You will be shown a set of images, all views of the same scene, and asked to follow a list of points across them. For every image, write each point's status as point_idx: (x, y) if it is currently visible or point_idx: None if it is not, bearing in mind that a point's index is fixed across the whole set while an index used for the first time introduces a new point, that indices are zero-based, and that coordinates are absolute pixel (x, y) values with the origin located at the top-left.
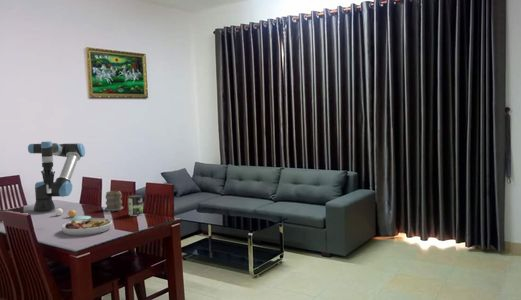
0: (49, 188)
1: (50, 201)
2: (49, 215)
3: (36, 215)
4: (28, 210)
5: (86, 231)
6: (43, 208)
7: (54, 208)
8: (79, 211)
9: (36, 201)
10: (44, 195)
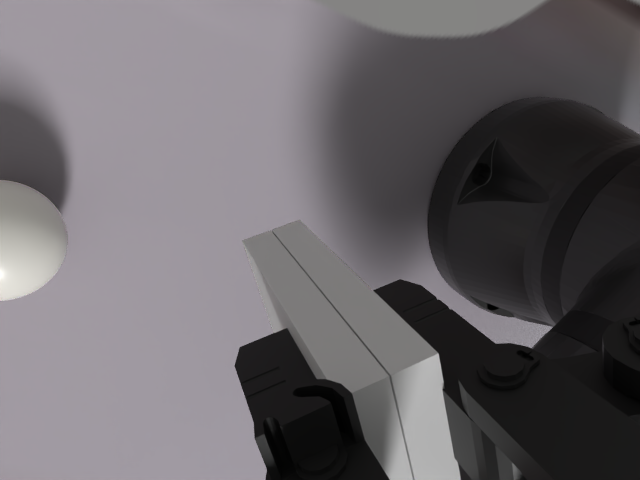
0: (249, 352)
1: (517, 292)
2: (138, 129)
3: (287, 3)
4: (630, 72)
5: None
6: (464, 174)
7: (460, 294)
8: (103, 469)
9: (626, 140)
10: (611, 254)
